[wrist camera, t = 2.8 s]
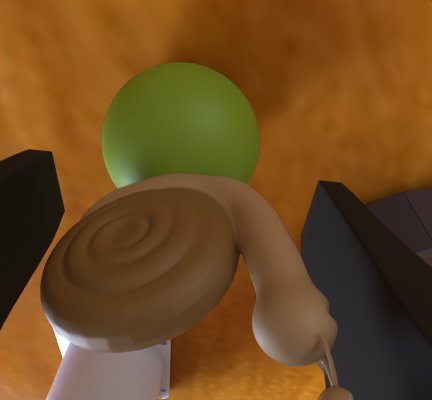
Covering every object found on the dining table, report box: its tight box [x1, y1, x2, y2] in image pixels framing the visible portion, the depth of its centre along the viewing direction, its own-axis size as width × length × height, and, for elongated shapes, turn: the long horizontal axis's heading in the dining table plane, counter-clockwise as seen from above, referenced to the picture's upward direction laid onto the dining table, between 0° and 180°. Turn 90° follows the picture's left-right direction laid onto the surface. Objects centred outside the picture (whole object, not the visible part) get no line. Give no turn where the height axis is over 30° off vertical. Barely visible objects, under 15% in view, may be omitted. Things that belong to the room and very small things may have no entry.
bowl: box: [316, 188, 432, 371], centre depth 18 cm, size 12×12×4 cm
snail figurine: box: [40, 62, 354, 400], centre depth 10 cm, size 5×6×12 cm
